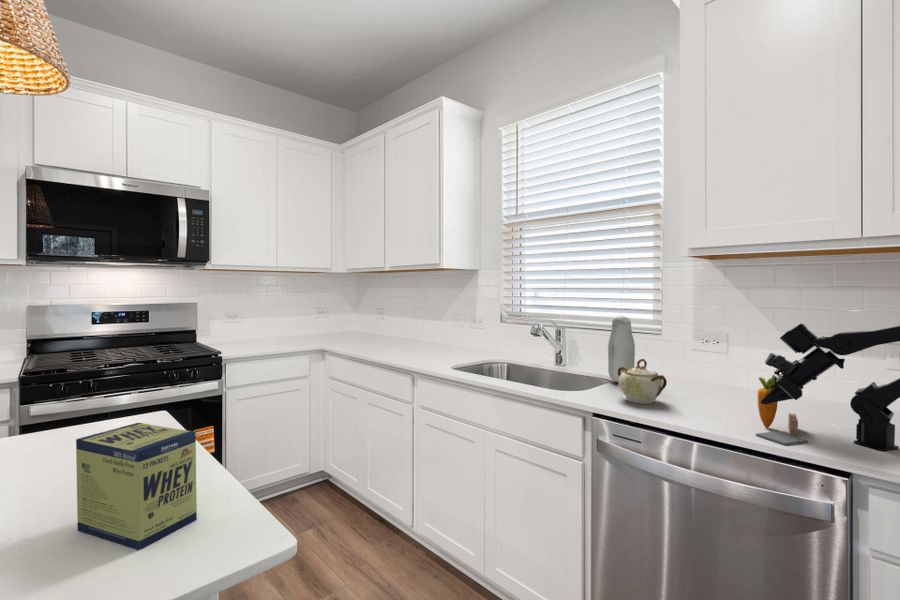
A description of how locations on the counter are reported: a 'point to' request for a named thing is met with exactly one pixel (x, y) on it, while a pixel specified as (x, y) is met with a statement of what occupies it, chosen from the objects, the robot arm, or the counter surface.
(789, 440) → the charcoal mat
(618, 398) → the counter surface
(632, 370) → the sugar bowl
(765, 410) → the carrot
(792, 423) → the walnut block
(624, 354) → the grey bottle
